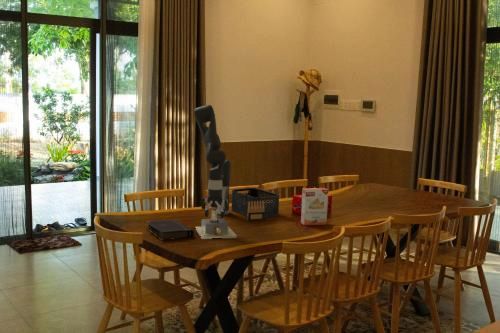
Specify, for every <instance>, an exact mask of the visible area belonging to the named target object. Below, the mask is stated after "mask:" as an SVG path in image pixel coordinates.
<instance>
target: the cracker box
mask: <svg viewBox="0 0 500 333" xmlns="http://www.w3.org/2000/svg"><path fill="white" fill-rule="evenodd" d="M301 194H302V195H301V214H300V215H301V216H300V217H301V218H300V224H301V225H303V226H326V225H327V220H328V219H327V217H328V205H329V204H328V203H329V189H328V188H326V187H320V188H319V187H317V188H316V187H313V188H311V187H309V188H307V187H305V188H302V193H301Z"/></svg>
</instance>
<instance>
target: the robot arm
mask: <svg viewBox="0 0 500 333" xmlns="http://www.w3.org/2000/svg"><path fill="white" fill-rule="evenodd" d="M193 115H194V116H193V117H194V118H195V121H196V123H197V125H198V128H199V130H200V133H201V136H202V139H203V144H204V145H205V148H206V153H205V160H206V162H207V164H208V165H210V166H211V168H210V169H209V170H208V182H207V183H208V184H207V185H208V186H207V197H202V200H201V209H202V210H204V217H206V218H208V217H209V209H210V206H212V207H218V209H217V215H220V219H224V218H225V217H226V216H225V215H228V214H229V213H230V183H231V171H232V170H231V169H232V163H231V161H230V160H229V159H226V158H227V155H226V153H225V151H224V150H221V148H222V143H221V139H220V137H219V134H218V131H217V121H216V114H215V110H214V108H213V106H212V105H211V104H206V105H203V106H199V107H196V108H194V109H193ZM206 123H209V125H206ZM207 202H208V204H206V203H207ZM206 205H207V206H206Z"/></svg>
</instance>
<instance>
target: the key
mask: <svg viewBox="0 0 500 333" xmlns="http://www.w3.org/2000/svg"><path fill="white" fill-rule="evenodd" d="M209 209H210V219H211V223H213V222H217V219H218V214H217V209H218V207H212V206H210V207H209Z"/></svg>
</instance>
